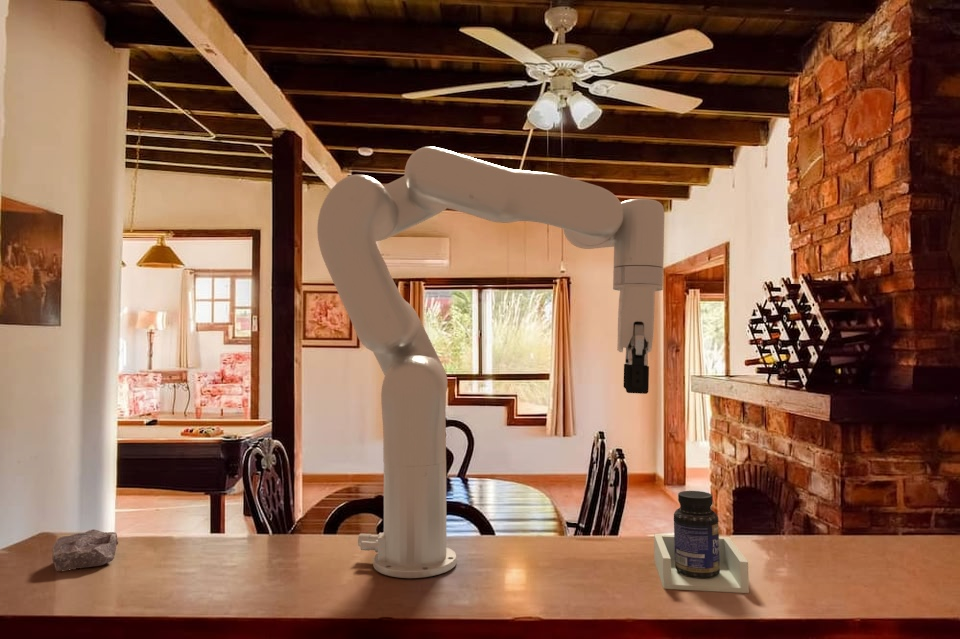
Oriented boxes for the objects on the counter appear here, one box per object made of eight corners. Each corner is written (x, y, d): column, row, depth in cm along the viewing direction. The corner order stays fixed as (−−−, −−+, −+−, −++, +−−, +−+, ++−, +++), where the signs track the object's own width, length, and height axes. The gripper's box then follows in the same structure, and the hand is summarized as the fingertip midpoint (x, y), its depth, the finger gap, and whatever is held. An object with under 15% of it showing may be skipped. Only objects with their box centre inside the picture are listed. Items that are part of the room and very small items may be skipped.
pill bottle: (723, 580, 88) (721, 500, 88) (677, 578, 89) (675, 498, 89) (715, 565, 94) (713, 489, 94) (672, 563, 95) (670, 488, 95)
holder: (663, 588, 87) (663, 558, 87) (654, 561, 98) (654, 534, 98) (748, 593, 85) (748, 562, 85) (729, 564, 96) (729, 537, 96)
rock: (124, 547, 107) (124, 519, 107) (111, 570, 96) (111, 539, 96) (68, 553, 104) (68, 524, 104) (47, 578, 93) (47, 546, 93)
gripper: (612, 285, 108) (609, 386, 107) (614, 273, 91) (611, 393, 90) (657, 286, 107) (655, 388, 106) (668, 274, 90) (666, 396, 89)
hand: (635, 390), depth 98 cm, fingers open, 9 cm apart
